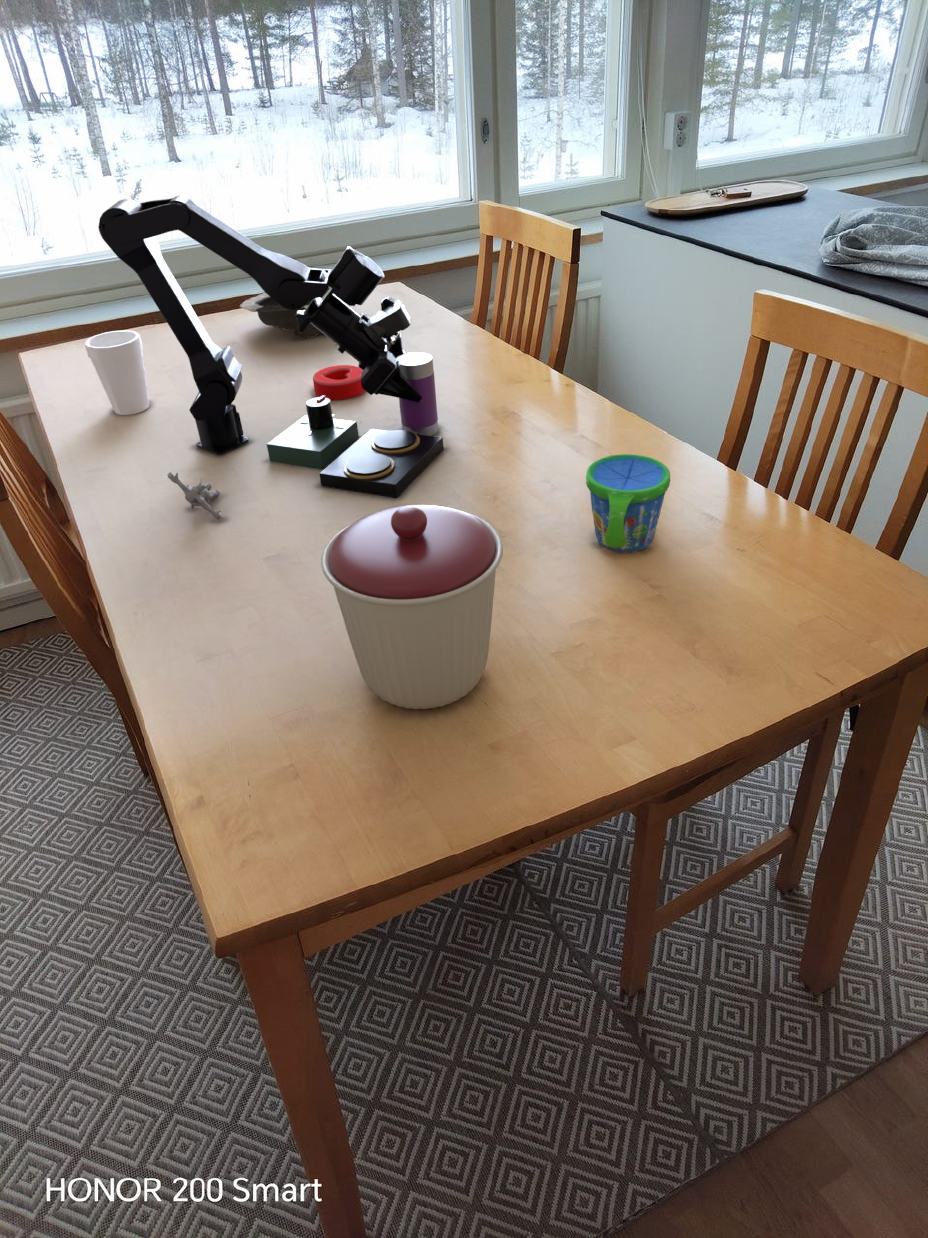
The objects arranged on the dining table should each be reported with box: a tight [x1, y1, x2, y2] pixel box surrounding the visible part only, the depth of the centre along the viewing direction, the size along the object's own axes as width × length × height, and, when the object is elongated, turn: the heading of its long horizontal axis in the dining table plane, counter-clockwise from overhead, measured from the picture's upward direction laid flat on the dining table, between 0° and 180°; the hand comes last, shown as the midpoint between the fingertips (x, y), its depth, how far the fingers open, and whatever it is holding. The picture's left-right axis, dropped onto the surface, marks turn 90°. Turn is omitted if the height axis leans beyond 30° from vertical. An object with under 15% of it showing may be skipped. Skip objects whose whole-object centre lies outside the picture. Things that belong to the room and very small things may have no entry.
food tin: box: [396, 351, 439, 436], centre depth 150 cm, size 6×6×12 cm
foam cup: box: [83, 329, 150, 416], centre depth 165 cm, size 10×9×13 cm
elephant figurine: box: [167, 472, 224, 522], centre depth 133 cm, size 10×6×9 cm
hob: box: [318, 428, 445, 499], centre depth 142 cm, size 13×17×3 cm
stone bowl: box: [239, 286, 340, 340], centre depth 200 cm, size 25×25×9 cm
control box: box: [266, 413, 360, 470], centre depth 149 cm, size 10×13×3 cm
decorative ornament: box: [312, 364, 366, 401], centre depth 169 cm, size 10×10×3 cm
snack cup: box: [585, 453, 671, 554], centre depth 118 cm, size 16×10×10 cm
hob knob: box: [305, 396, 334, 430], centre depth 149 cm, size 4×4×4 cm
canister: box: [320, 504, 504, 710], centre depth 94 cm, size 18×18×21 cm
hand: (420, 388), depth 149 cm, fingers open, 9 cm apart
